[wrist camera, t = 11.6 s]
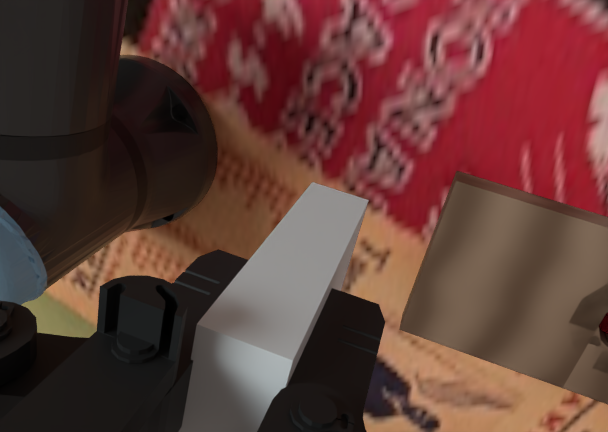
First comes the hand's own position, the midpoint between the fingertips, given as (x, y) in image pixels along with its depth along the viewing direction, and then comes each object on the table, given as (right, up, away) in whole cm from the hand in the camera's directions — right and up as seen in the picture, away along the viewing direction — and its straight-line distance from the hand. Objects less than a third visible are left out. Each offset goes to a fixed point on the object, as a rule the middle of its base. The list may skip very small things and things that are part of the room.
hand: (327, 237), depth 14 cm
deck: (+20, -5, +29) cm, 36 cm away
